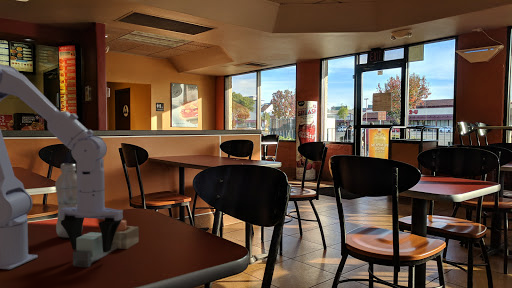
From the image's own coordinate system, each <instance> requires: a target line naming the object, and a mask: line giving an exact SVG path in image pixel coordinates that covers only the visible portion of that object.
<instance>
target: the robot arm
mask: <svg viewBox="0 0 512 288" xmlns="http://www.w3.org/2000/svg"><path fill="white" fill-rule="evenodd" d="M9 96H14V97H17V98H19V99H20V100H21V101H22V102H23V103H25V104H26V105H27V106H29V108H31V109H32V110H33V111H34V112H36V113H37V114H38V115H39V116H40V117H42V118H43V119H44V120H45V121H46V122H47V124H46V127H47V130H48V131H49V132H50V133H51V134H53V135H54V136H55V138H57V140H59V141H60V142H61V143H62V144H63V145H64V146H65V147H66V148H68V149H69V150H70V151H71V152H70V154H71V156H72V158H73V159H74V160H75V162H76V174H77V207H65V208H62V209H60V217H63V218H64V217H65V218H64V220H62V221H61V225H62V226H63V227H64V229H65V231H66V232H67V234H68V236H69V238H68V239H69V242H70V245H71V248H72V251H75V250H77V247H76V238H78V237H81V236H82V235H83V234H82V233H83V229H82V226H83V227H84V225H83V224H84V220H85V219H96V220H98V219H100V220H102V221H100V222H98V226H99V229H100V233H101V234H102V248H103V252H108V251H110V250H111V247H112V242H113V238H114V235H115V233H116V230H117V228H118V226H119V224H120V222H121V220H124V216H123V215H124V214H123V213H124V210H122V209H115V208H110V207H106V206H105V201H106V200H105V197H106V196H105V188H106V187H105V167H104V166H105V165H104V164H105V163H104V161H105V159H104V157H106V155H107V153H108V147H107V143H106V142H105V141H104V140H103V137H101V136H98V135H94V133H95V132H94V131H93V130H92V129H88V128H86V126H84V125H83V124H82V123H81V122H80V121H79V120H78V119H79V116H78V115H77V114H76V113H71V112H69V111H60V110H59V109H58V108H57V107H56V106H55V105H54V104H53V103H52V102H51V101H50V100H49V99H48V98H47V97H46V96H45V95H44V94H43V93H42V91H40V90H39V89H38V88H37V87H36V86H35V85H34V84H33V83H32V82H31V81H30V80H29V79H28V77H26V76H25V75H24V74H22V73H20V71H18V69H16V68H15V67H13V66H11V65H8V64H2V63H0V103H1V102H2V100H4V99H6V98H7V97H9ZM33 202H34V201H33V198H32V196H31V195H30V194H29V193H28V191H27V190H26V189H25V186H24V183H23V182H22V181H21V180H20V179H18V178H17V177H16V175H15V173H14V169H13V166H12V163H11V159H10V155H9V154H8V150H7V146H6V143H5V140H4V136H3V133H2V129H1V128H0V270H1V269H2V270H12V269H15V268H17V267H19V266H21V265H23V264H26V263H27V262H30V261H32V260H34V259H37V258H38V254H29V237H28V235H29V233H28V228H29V227H28V213H29V212H30V211H31V210H32V207H33V204H34V203H33Z"/></svg>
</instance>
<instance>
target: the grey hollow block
mask: <svg viewBox="0 0 512 288" xmlns="http://www.w3.org/2000/svg"><path fill="white" fill-rule="evenodd" d="M139 235H140V234H139V226H132V225H131V226H130V225H126V230H125V231H124V232H121V231H116V233H115V235H114V238H113V242H118V248H117V249H123V250H124V249H125V250H128V249H129V248H131V247H133V246H134V245H136V244H137V243H139V242H140V241H139V239H140V238H139V237H140V236H139Z"/></svg>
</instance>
